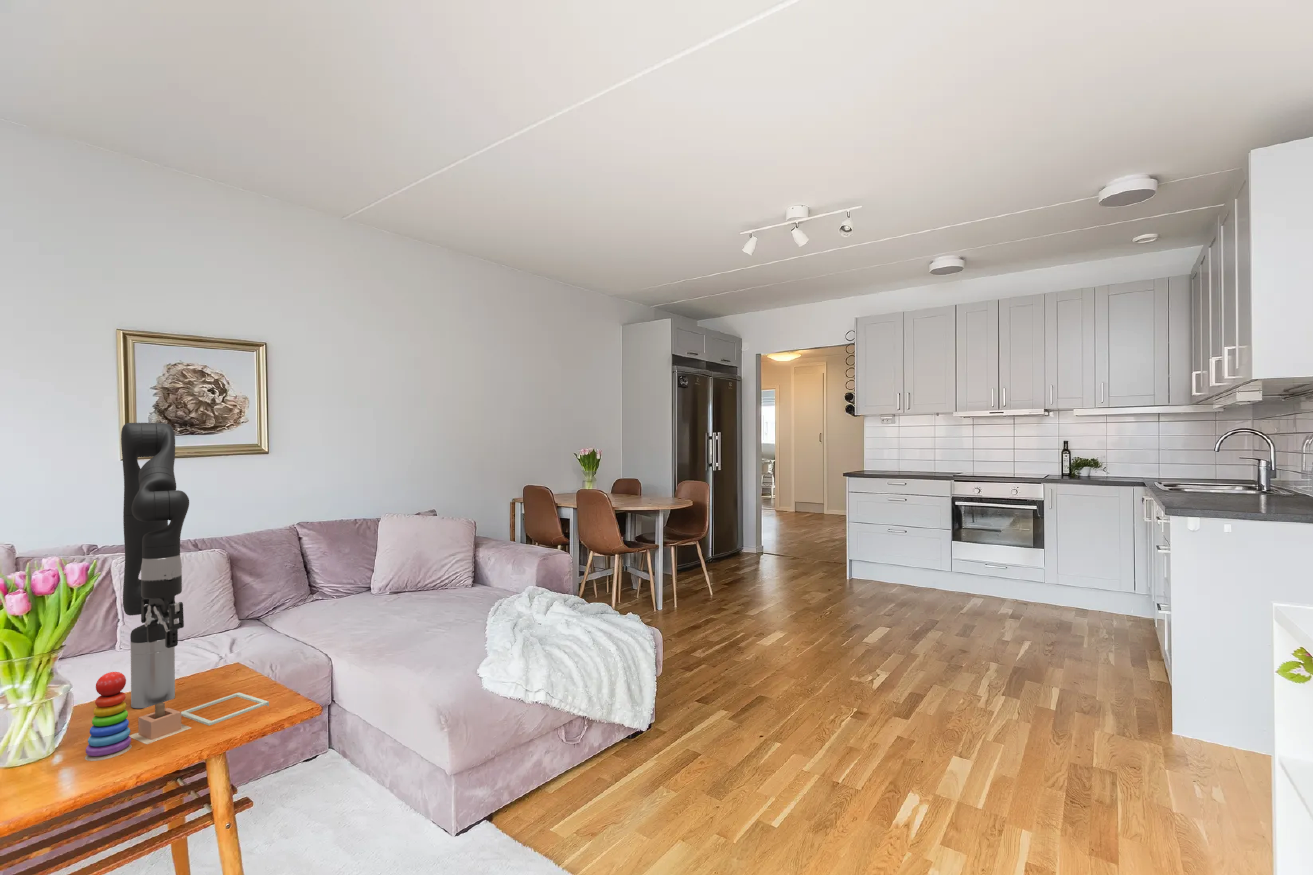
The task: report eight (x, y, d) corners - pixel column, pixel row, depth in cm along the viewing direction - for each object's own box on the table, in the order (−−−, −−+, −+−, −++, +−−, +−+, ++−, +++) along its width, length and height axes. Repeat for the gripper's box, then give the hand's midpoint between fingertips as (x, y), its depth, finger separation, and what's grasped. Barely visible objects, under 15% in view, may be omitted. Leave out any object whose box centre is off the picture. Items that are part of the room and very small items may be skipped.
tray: (179, 720, 155) (178, 712, 155) (238, 699, 167) (238, 692, 167) (209, 731, 148) (209, 723, 148) (269, 709, 161) (268, 701, 161)
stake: (127, 742, 144) (127, 707, 144) (172, 726, 152) (172, 693, 152) (146, 750, 139) (146, 715, 140) (191, 733, 147) (191, 700, 148)
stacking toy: (104, 769, 132) (103, 680, 132) (74, 766, 133) (73, 678, 133) (141, 751, 139) (141, 667, 140) (113, 748, 141) (112, 665, 141)
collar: (138, 734, 144) (138, 717, 144) (173, 722, 151) (173, 705, 151) (151, 739, 142) (151, 722, 142) (186, 727, 148) (186, 710, 148)
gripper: (127, 575, 146) (128, 644, 146) (158, 581, 140) (158, 653, 140) (164, 569, 153) (165, 635, 153) (195, 575, 146) (196, 643, 146)
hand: (162, 644), depth 146 cm, fingers open, 8 cm apart
